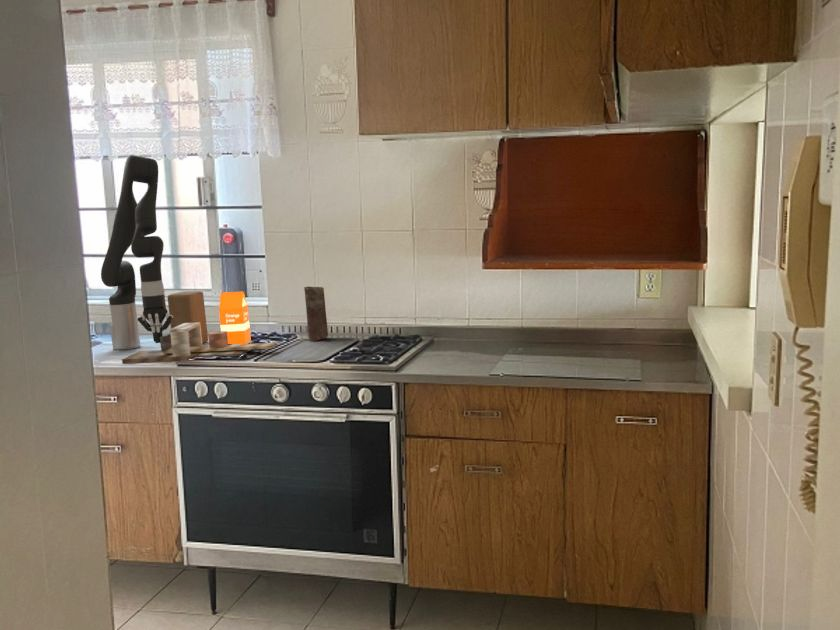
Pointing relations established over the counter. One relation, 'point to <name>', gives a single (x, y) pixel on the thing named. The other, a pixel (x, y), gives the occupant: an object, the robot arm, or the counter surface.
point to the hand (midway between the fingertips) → (158, 342)
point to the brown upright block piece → (316, 313)
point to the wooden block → (188, 310)
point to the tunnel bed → (180, 347)
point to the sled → (214, 344)
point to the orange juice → (234, 317)
